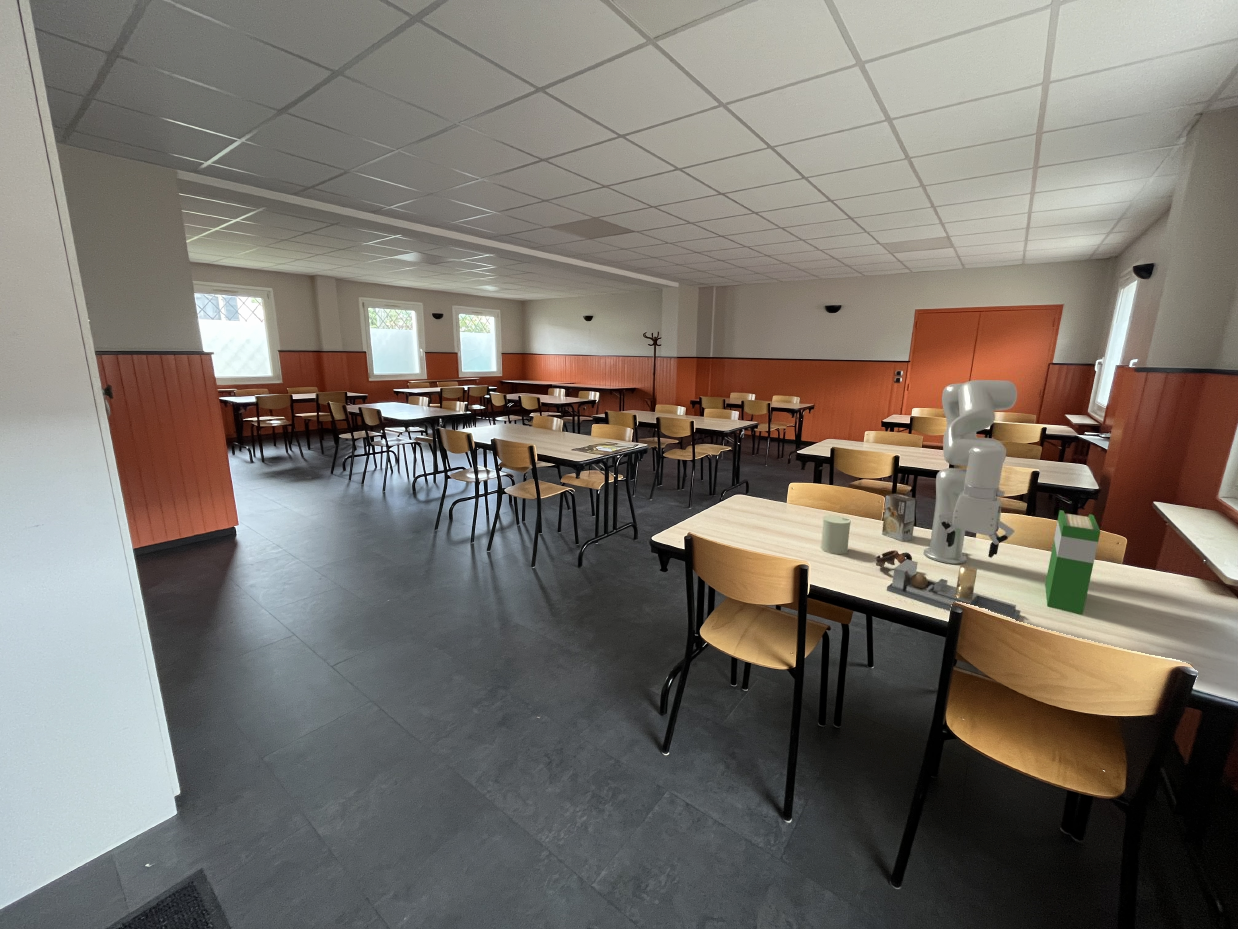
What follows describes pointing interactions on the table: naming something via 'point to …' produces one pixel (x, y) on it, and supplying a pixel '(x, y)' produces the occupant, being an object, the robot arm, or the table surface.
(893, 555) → the rusty shackles
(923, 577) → the walnut
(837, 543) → the can
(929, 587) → the base
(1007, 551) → the table surface
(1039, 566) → the table surface
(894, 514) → the coffee box
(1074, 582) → the hardback book
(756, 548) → the table surface
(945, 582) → the jaw carriage
